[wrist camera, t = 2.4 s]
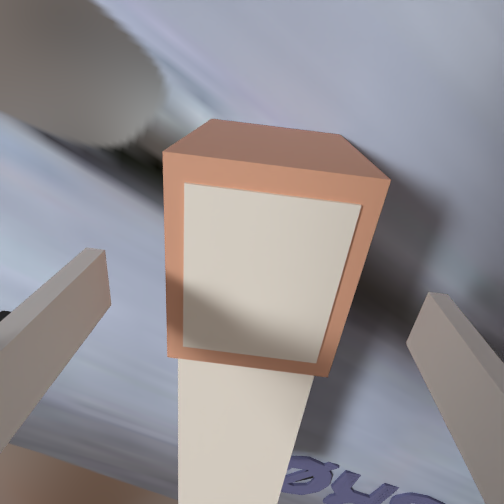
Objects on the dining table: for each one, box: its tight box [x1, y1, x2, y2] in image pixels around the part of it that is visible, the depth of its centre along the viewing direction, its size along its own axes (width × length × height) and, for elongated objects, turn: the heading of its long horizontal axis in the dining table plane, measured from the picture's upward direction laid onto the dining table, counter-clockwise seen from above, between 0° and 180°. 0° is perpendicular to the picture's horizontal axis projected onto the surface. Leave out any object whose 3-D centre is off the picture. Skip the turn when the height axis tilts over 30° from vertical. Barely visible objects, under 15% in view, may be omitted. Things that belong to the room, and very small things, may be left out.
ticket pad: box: [178, 359, 314, 504], centre depth 26 cm, size 20×8×8 cm, turn 174°
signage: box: [281, 456, 445, 504], centre depth 39 cm, size 28×1×10 cm
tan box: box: [163, 119, 391, 377], centre depth 18 cm, size 10×8×10 cm
